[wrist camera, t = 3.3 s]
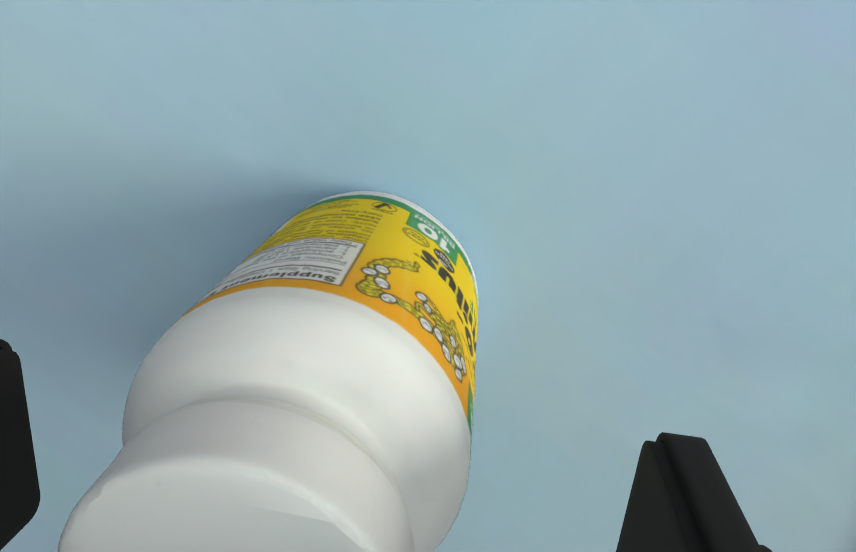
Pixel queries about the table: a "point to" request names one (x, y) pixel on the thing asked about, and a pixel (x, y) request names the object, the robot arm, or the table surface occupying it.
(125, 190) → the table surface
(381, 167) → the table surface
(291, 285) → the supplement bottle
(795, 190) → the table surface
